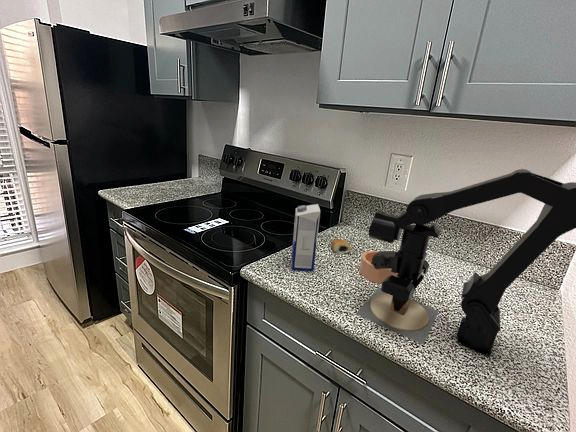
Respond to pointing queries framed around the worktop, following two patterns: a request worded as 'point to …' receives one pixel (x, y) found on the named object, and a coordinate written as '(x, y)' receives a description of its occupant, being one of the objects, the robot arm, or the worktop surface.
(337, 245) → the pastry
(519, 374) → the worktop surface
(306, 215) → the milk carton
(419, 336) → the mat
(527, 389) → the worktop surface
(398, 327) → the lid
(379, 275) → the bowl
